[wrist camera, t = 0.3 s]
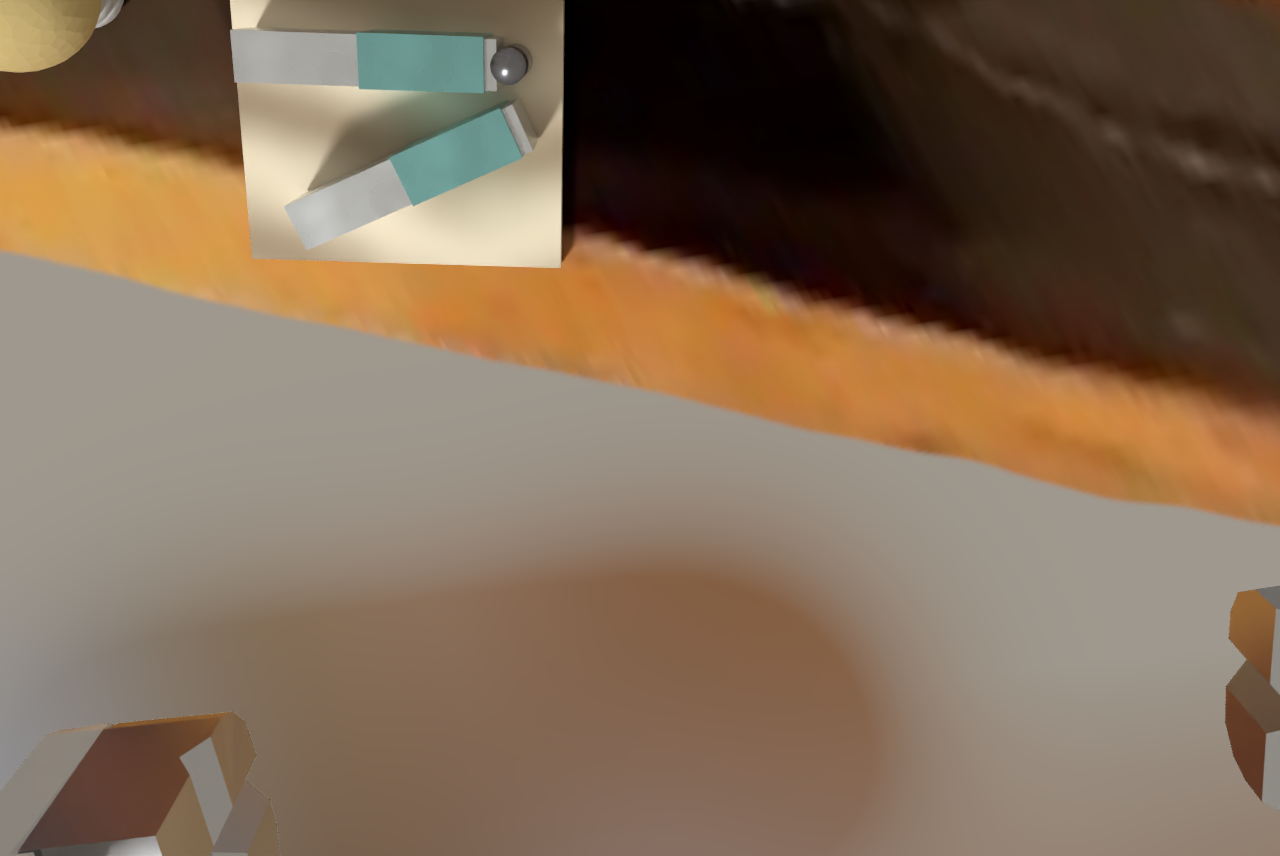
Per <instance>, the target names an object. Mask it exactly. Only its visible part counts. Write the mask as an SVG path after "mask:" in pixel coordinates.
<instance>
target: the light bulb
mask: <svg viewBox="0 0 1280 856" xmlns="http://www.w3.org/2000/svg"><path fill="white" fill-rule="evenodd" d="M123 3H124V0H0V71H9V72H30V71H39V70H42V69H45V68H49V67H52V66H55V65H57V64H59V63H61V62H64V61H66V60H67V59H68V58H70V57H71V56H72V55H74V54H75V53H76V52H77V51H79V50H80V49H81V48H82V47H83V46H84V44H85V43H86V42H87V41H88V39H89V38H90V37H91V35H92V33H93V31H94V29H95V28H98V27H101V26H103V25H106V24H107V23H109V22H111V21H112V20H113V19H114V18H115V17H116V16H117V14H118V13H119V12H120V10H121V7H122V5H123Z"/></svg>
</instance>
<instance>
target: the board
mask: <svg viewBox="0 0 1280 856" xmlns="http://www.w3.org/2000/svg"><path fill="white" fill-rule="evenodd" d="M564 3H565V0H230V5H231V17H232V29H241V28H250V27H277V28H305V29H333V30H361V31H366V30H372V29H389V30H416V31H444V32H472V33H493V35H501V36H504V47H506V46H508V45H510V44H515V43H517V44H521V45H523V46H525V47H526V48H527V49H528V50H529V51H530V53H531V55H532V61H533V62H532V67H531V69H530V71H529V72H528V73H527V74H526V75H525V76H524V77H523V78H522V79H521V80H520V81H519V82H517V83H516V84H513V85H503V86H502V87H501V88H500V89H499V90H498V91H486V92H485V93H457V92H428V91H399V90H370V89H359V87H356V86H327V85H298V84H269V83H240V82H237V87H238V99H239V111H240V122H241V134H242V146H243V158H244V169H245V181H246V193H247V204H248V216H249V228H250V239H251V251H252V259H283V260H316V261H349V262H382V263H414V264H447V265H480V266H513V267H546V268H561V264H562V187H563V95H564ZM517 97H520V100H521V102H522V104H523V106H524V108H525V111H526V113H527V115H528V117H529V120H530V122H531V124H532V126H533V129H534V131H535V133H536V135H537V138H538V142H537V144H536V146H535V148H534V150H533V151H532V152H529V153H527V154H525V155H524V156H523V158H522V159H520V160H517V161H515V162H513V163H510V164H508V165H506V166H504V167H501V168H499V169H497V170H495V171H492V172H490V173H488V174H485V175H483V176H481V177H479V178H476V179H474V180H472V181H470V182H467V183H465V184H463V185H460V186H458V187H456V188H454V189H451V190H449V191H447V192H445V193H442V194H440V195H438V196H436V197H433V198H431V199H429V200H426V201H424V202H422V203H420V204H417V205H415V206H413V205H412V204H411V205H409V206H407V207H404V208H402V209H400V210H398V211H395V212H393V213H391V214H389V215H386V216H384V217H382V218H380V219H377V220H375V221H373V222H370V223H368V224H366V225H364V226H361V227H359V228H357V229H355V230H352V231H350V232H348V233H345V234H343V235H341V236H339V237H336V238H334V239H332V240H330V241H327V242H325V243H323V244H321V245H318V246H316V247H314V248H311V249H309V250H306V248H305V246H304V244H303V242H302V240H301V239H300V237H299V235H298V233H297V231H296V229H295V227H294V226H293V224H292V222H291V220H290V218H289V216H288V214H287V212H286V211H285V209H284V206H286V205H287V204H289V203H290V202H292V201H293V200H295V199H296V198H298V197H299V196H301V195H302V194H304V193H305V192H308V191H310V190H312V189H314V188H316V187H319V186H321V185H323V184H325V183H328V182H330V181H332V180H334V179H337V178H339V177H341V176H343V175H346V174H348V173H350V172H352V171H354V170H357V169H359V168H361V167H363V166H366V165H368V164H370V163H372V162H375V161H377V160H379V159H381V158H383V157H386V156H388V155H390V154H392V153H395V152H397V151H399V150H400V149H401V148H403V147H404V146H406V145H408V144H410V143H412V142H415V141H417V140H419V139H421V138H423V137H426V136H428V135H430V134H432V133H435V132H437V131H439V130H441V129H444V128H446V127H448V126H450V125H452V124H455V123H457V122H459V121H461V120H464V119H466V118H468V117H470V116H473V115H475V114H477V113H479V112H481V111H484V110H486V109H488V108H490V107H493V106H495V105H497V104H499V103H502V102H504V101H506V100H508V101H511V100H513V99H515V98H517Z"/></svg>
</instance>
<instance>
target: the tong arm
mask: <svg viewBox="0 0 1280 856" xmlns="http://www.w3.org/2000/svg"><path fill="white" fill-rule="evenodd" d="M537 142H538V138H537V135H536V133H535V131H534V129H533V126H532V124H531V122H530V120H529V117H528V115H527V113H526V111H525V108H524V106H523V104H522V102H521V100H520V97H517V98H515V99H513V100H511V101H508V100H506V101H504V102H502V103H499V104H497V105H495V106H493V107H490V108H488V109H486V110H484V111H481V112H479V113H477V114H475V115H473V116H470V117H468V118H466V119H464V120H461V121H459V122H457V123H455V124H452V125H450V126H448V127H446V128H444V129H441V130H439V131H437V132H435V133H432V134H430V135H428V136H426V137H423V138H421V139H419V140H417V141H415V142H412V143H410V144H408V145H406V146H404V147H403V148H401V149H400V150H399V151H397V152H395V153H392V154H390V155H388V156H386V157H383V158H381V159H379V160H377V161H375V162H372V163H370V164H368V165H366V166H363V167H361V168H359V169H357V170H354V171H352V172H350V173H348V174H346V175H343V176H341V177H339V178H337V179H334V180H332V181H330V182H328V183H325V184H323V185H321V186H319V187H316V188H314V189H312V190H310V191H308V192H305V193H304V194H302V195H301V196H299V197H298V198H296V199H295V200H293V201H292V202H290V203H289V204H287V205H286V206H284V209H285V211H286V212H287V214H288V216H289V218H290V220H291V222H292V224H293V226H294V227H295V229H296V231H297V233H298V235H299V237H300V239H301V240H302V242H303V244H304V246H305V248H306V250H309V249H311V248H314V247H316V246H318V245H321V244H323V243H325V242H327V241H330V240H332V239H334V238H336V237H339V236H341V235H343V234H345V233H348V232H350V231H352V230H355V229H357V228H359V227H361V226H364V225H366V224H368V223H370V222H373V221H375V220H377V219H380V218H382V217H384V216H386V215H389V214H391V213H393V212H395V211H398V210H400V209H402V208H404V207H407V206H409V205H411V204H412V205H413V206H415V205H417V204H420V203H422V202H424V201H426V200H429V199H431V198H433V197H436V196H438V195H440V194H442V193H445V192H447V191H449V190H451V189H454V188H456V187H458V186H460V185H463V184H465V183H467V182H470V181H472V180H474V179H476V178H479V177H481V176H483V175H485V174H488V173H490V172H492V171H495V170H497V169H499V168H501V167H504V166H506V165H508V164H510V163H513V162H515V161H517V160H520V159H522V158H523V156H524V155H525V154H527V153H529V152H532V151H533V150H534V148H535V146H536V144H537Z"/></svg>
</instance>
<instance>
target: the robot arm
mask: <svg viewBox="0 0 1280 856" xmlns="http://www.w3.org/2000/svg"><path fill="white" fill-rule="evenodd" d="M1229 640H1230V641H1231V642H1232V643H1233V644H1234V646H1235V647H1236V648H1237V649H1238V650H1239V652H1240V653H1241V654H1242V655H1243V656H1244V657H1245V659H1246V661H1245V662H1244V664H1243V665H1242V666H1241V668H1240V669H1239V670H1238V671H1237V673H1236V674H1235V675H1234V676H1233V678H1232V679H1231V680H1230V682H1229V683H1228V684H1227V685H1226V703H1225V723H1226V728H1227V732H1228V736H1229V740H1230V745H1231V748H1232V753H1233V756H1234V758H1235V761H1236V762H1237V765H1238V767H1239V769H1240V771H1241V773H1242V775H1243V777H1244V779H1245V781H1246V782H1247V783H1248V785H1249V786H1250V787H1251V788H1252V790H1253V791H1254V793H1255V794H1256V795H1257V796H1258V798H1259V799H1260V800H1261V802H1263V803H1265V804H1267V805H1269V806H1271V807H1273V808H1275V809H1277V810H1279V811H1280V586H1275V587H1268V588H1261V589H1255V590H1248V591H1242V592H1238V593H1237V596H1236V598H1235V601H1234V603H1233V606H1232V608H1231V611H1230V625H1229ZM256 755H257V754H256V752H255V749H254V746H253V742H252V740H251V737H250V734H249V731H248V728H247V725H246V722H245V721H244V720H243V719H242V718H240V717H239V716H238V715H237V714H235V713H234V712H223V713H213V714H203V715H193V716H183V717H173V718H163V719H154V720H143V721H134V722H124V723H118V724H115V725H114V724H110V723H108V724H100V725H93V726H86V727H79V728H72V729H64V730H59V731H56V732H53V733H50V734H47V735H44V736H43V737H42V739H41V740H40V741H39V743H38V744H37V745H36V746H35V747H34V749H33V750H32V751H31V753H30V754H29V755H28V756H27V758H26V759H25V760H24V761H23V763H22V764H21V765H20V767H19V768H18V769H17V770H16V772H15V773H14V774H13V776H12V777H11V778H10V779H9V781H8V782H7V783H6V784H5V786H4V787H3V788H2V790H1V791H0V856H280V848H279V839H278V831H277V823H276V819H275V816H274V812H273V809H272V805H271V802H270V799H269V798H267V797H266V796H265V795H264V794H262V793H261V792H260V791H259V790H257V789H256V788H255V787H254V786H253V785H251V784H250V783H249V782H248V781H246V780H245V779H246V777H247V775H248V773H249V771H250V768H251V766H252V764H253V762H254V759H255V758H256Z"/></svg>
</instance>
